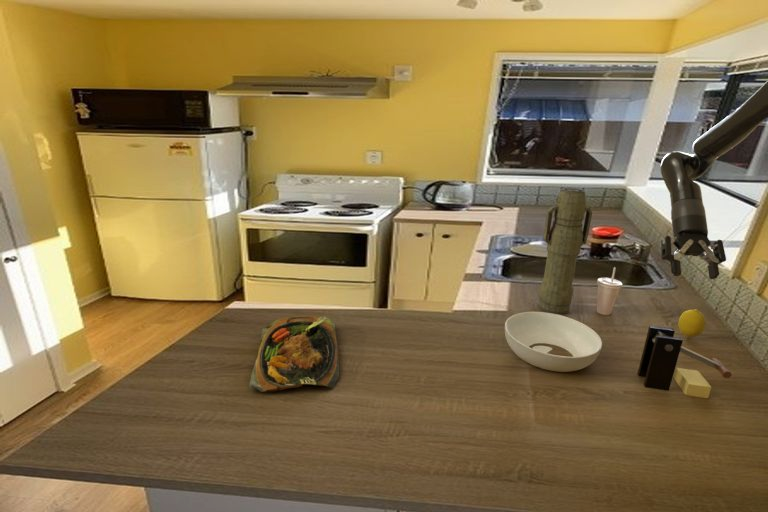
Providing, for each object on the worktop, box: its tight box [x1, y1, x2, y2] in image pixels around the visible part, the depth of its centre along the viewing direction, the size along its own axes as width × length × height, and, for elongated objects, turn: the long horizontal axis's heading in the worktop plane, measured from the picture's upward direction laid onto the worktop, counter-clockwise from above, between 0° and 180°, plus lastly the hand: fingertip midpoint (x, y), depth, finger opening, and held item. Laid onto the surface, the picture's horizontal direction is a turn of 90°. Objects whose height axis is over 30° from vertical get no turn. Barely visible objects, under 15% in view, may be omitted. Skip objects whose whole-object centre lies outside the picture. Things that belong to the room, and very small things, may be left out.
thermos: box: [537, 187, 593, 315], centre depth 120 cm, size 9×12×35 cm
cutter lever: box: [652, 331, 732, 379], centre depth 85 cm, size 14×5×2 cm, turn 75°
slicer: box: [637, 325, 684, 392], centre depth 87 cm, size 8×9×13 cm
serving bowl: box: [504, 311, 603, 373], centre depth 98 cm, size 21×21×7 cm
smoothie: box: [596, 266, 623, 316], centre depth 121 cm, size 6×6×14 cm
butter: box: [673, 367, 712, 399], centre depth 87 cm, size 6×9×4 cm, turn 166°
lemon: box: [677, 308, 706, 339], centre depth 109 cm, size 6×6×8 cm
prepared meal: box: [248, 316, 340, 393], centre depth 97 cm, size 28×4×18 cm
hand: (695, 276), depth 109 cm, fingers open, 8 cm apart
